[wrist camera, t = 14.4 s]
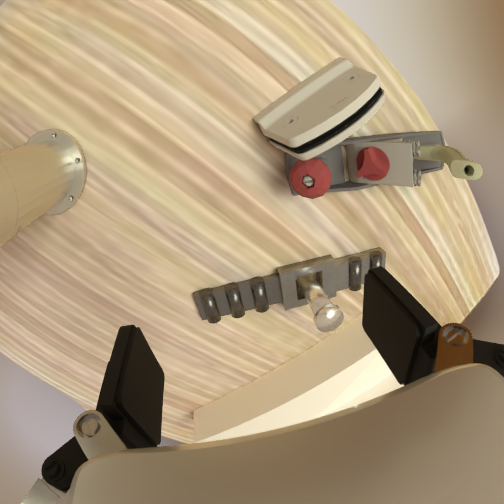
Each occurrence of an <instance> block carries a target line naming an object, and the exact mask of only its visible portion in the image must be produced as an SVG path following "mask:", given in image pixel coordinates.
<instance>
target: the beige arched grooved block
mask: <svg viewBox="0 0 504 504" xmlns="http://www.w3.org/2000/svg"><path fill="white" fill-rule="evenodd" d="M380 86H381V82H380V80H379V79H378V77H377V76H376V75H375V74H373V73H371V72H368V71H366V70H363V69H361V68H358V67H356V66H354V65H353V64H352V63H351V62H350V61H349V60H347V59H345V58H340V57H339V58H338V59H336V60H334V61H333V62H331V63H330V64H328V65H327V66H325V67H324V68H322V69H320V70H319V71H317V72H316V73H314V74H313V75H311V76H310V77H308V78H307V79H306V80H304V81H303V82H301V83H300V84H298V85H297V86H295V87H294V88H293V89H291V90H290V91H288V92H287V93H286V94H284V95H283V96H281V97H280V98H279V99H277V100H276V101H275V102H273V103H272V104H271V105H269V106H268V107H267V108H265V109H264V110H263V111H261V112H260V113H259V114H257V115H256V116H255V117H254V118H253V119H254V121H255V122H256V123H258V124H259V126H260V128H261V130H262V132H263V134H264V135H265V136H267V137H269V138H270V140H271V141H269V142H270V143H271V144H272V145H273V146H275V147H276V148H278V149H280V150H282V151H284V152H286V153H288V154H290V155H292V156H294V157H296V158H298V159H300V160H302V161H305V160H308V159H310V158H313V157H315V156H317V155H319V154H321V153H323V152H325V151H326V150H328V149H330V148H332V147H333V146H335V145H337V144H338V143H340V142H342V141H343V140H345V139H346V138H347V137H349V136H350V135H352V134H353V133H355V132H356V131H357V130H358V129H360V128H361V127H362V126H363V125H364V124H365V123H367V122H368V121H369V120H370V119H371V118H372V117H373V116H374V115H375V114H376V112H377V111H378V110H379V109H380V107H381V106H382V105H383V103H384V102H385V92H384V90H383V89H381V88H380Z"/></svg>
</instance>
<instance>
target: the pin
mask: <svg viewBox="0 0 504 504" xmlns="http://www.w3.org/2000/svg"><path fill="white" fill-rule="evenodd" d="M297 283H298V285H299V287H300V289H301V291H302V293H303V294H304V296H305V298H306V300H307V302H308V304H309V306H310V308H311V309H312V311H313V313H314V315H315V316H314V323H315V325H316V327H317V329H318V330H320V331H322V332H329V331H332V330H334V329H336V328H337V327H338V326H339V325H340V324H341V323H342V321H343V318H344V315H343V312H342V311H341V309H340V308H339V307H338V306H337V305H334V304H332V302H331V301H330V299H329V297H328V296H327V294H326V293H325V291H324V290H323V288H322V287H321V285H320V284H319V282H318V281H317V279H316V278H315V276H314V274H313V273H312V274H308V275H304V276H300V277H298V279H297Z"/></svg>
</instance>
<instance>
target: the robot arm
mask: <svg viewBox="0 0 504 504" xmlns="http://www.w3.org/2000/svg"><path fill="white" fill-rule="evenodd" d="M56 134H57V136H56ZM79 158H80V161H79ZM85 181H86V162H85V157H84V154H83V152H82V149H81V147H80V146H79V144H78V142H77V141H76V140H75V139H74V138H73V137H72V136H71V135H69V134H68V133H66V132H64V131H61V130H55V129H51V130H45V131H41V132H39V133H37V134H35V135H34V136H33V137H32V138H30V139H29V140H28V142H27V143H26V144H25V146H21V147H17V148H14V149H10V150H6V151H3V152H0V247H1V246H2V245H3V244H5V243H6V242H7V241H8V240H10V239H11V238H12V237H13V236H15V235H16V234H17V233H18V232H20V231H21V230H22V229H24V228H25V227H26V226H28V225H29V224H30V223H32V222H33V221H34V220H36V219H37V218H38V217H40V216H41V215H42V214H46V215H56V214H60V213H62V212H64V211H66V210H67V209H69V208H70V207H71V206H72V205H73V204H74V203H75V202H76V201H77V200H78V198H79V197H80V195H81V193H82V191H83V189H84V185H85ZM72 196H73V197H74V198H73V197H72ZM362 326H363V329H364V331H365V333H366V334H367V336H368V337H369V339H370V340H371V342H372V343H373V345H374V346H375V348H376V349H377V351H378V352H379V354H380V355H381V357H382V358H383V360H384V361H385V363H386V364H387V366H388V367H389V369H390V370H391V372H392V374H393V375H394V377H395V378H396V380H397V381H398V383H399V384H400V385H402V384H403V385H404V386H403V387H401V388H398V389H396V390H393V391H391V392H389V393H386V394H384V395H381V396H379V397H376V398H374V399H371V400H369V401H366V402H363V403H361V404H358V405H355V406H352V407H350V408H347V409H344V410H341V411H338V412H335V413H332V414H329V415H325V416H322V417H319V418H316V419H312V420H309V421H305V422H302V423H298V424H294V425H290V426H287V427H283V428H278V429H274V430H270V431H265V432H261V433H256V434H251V435H246V436H240V437H235V438H229V439H223V440H216V441H209V442H202V443H193V444H184V445H174V446H163V447H157V445H158V444H160V442H161V423H162V406H163V391H164V372H163V370H162V368H161V366H160V365H159V363H158V361H157V359H156V358H155V356H154V354H153V352H152V350H151V348H150V347H149V345H148V343H147V341H146V339H145V337H144V335H143V333H142V331H141V330H140V328H139V327H137V328H136V327H135V326H134V325H128V326H122V327H120V329H119V331H118V335H117V338H116V341H115V344H114V348H113V351H112V355H111V358H110V361H109V362H108V365H107V369H106V372H105V376H104V380H103V383H102V387H101V391H100V395H99V399H98V403H97V407H96V410H89V411H85V412H84V413H82V414H81V415H79V416H78V417H77V419H76V420H75V422H74V426H73V432H74V435H75V436H74V437H73V438H72V439H70V440H69V441H68V442H67V443H65V444H64V445H63V446H62V447H60V448H59V449H58V450H57V451H56V452H54V453H53V454H52V455H50V456H49V457H48V458H47V459H46V460H45V461H44V463H43V465H42V476H43V478H42V480H41V479H39V478H38V480H37V481H36V482H35V484H34V485H33V487H32V488H31V490H30V491H29V492H28V494H27V495H26V497H25V498H24V500H23V501H22V503H21V504H504V345H503V344H497V343H491V342H485V341H480V340H474V339H473V337H472V333H471V332H470V330H469V329H468V328H467V327H466V326H464V325H462V324H459V323H448V324H446V325H444V326H442V327H441V325H440V324H439V323H438V322H437V321H436V320H435V319H434V318H433V317H432V316H431V315H430V314H429V313H428V311H427V310H426V309H425V308H424V307H423V306H422V305H421V304H420V303H419V302H418V301H417V300H416V299H415V298H414V297H413V296H412V295H411V294H410V293H409V292H408V291H407V290H406V289H405V288H404V287H403V286H402V285H401V284H400V283H399V282H398V281H397V280H396V279H395V278H394V277H393V276H392V275H391V274H390V273H389V272H388V271H387V270H386V269H384V268H383V267H382V266H379V267H376V268H372V269H369V270H368V273H367V274H365V277H364V300H363V316H362Z"/></svg>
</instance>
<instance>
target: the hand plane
mask: <svg viewBox="0 0 504 504" xmlns="http://www.w3.org/2000/svg"><path fill="white" fill-rule="evenodd" d="M341 145H346V152H347V161H348V170H349V180H350V181H349V182H345V177H344V168H343V159H342V151H341ZM285 154H286V174H287V177H288V180H289V184H290V187H291V190H292V193H293V195H294V196H295V195H301V196H302V197H307V198H311V199H314V198H317V197H320V196H323V195H324V194H325V193H326V192H338V191H351V190H360V189H364V188H368V187H372V186H375V185H379V184H383V185H397V186H409V187H413V185H414V186H416V185H418V186H420V185H421V174H424V173H429V172H433V171H437V170H442V169H443V166H444V163H446V164H447V165H448V167H449V169H450V171H451V173H452V175H453V176H454V177H456V178H462V179H469V180H476V179H478V178H480V177H481V176H482V173H483V171H482V167H481V166H480V165H479V164H478V163H476V162H473V161H471V160H469V159H468V158H466V157H465V156H464V155H463V154H462V153H461V152H460V151H459V150H457V149H455V148H451V147H448V146H445V142H444V139H443V135H442V132H441V131H426V132H408V133H394V134H383V135H372V136H363V137H354V138H346V139H345V140H343V141H342V142H340V143H338V144H337V145H335V146H333V147H332V148H330V149H328V150H326V151H325V152H323V153H321V154H319V155H317V156H315V157H313V158H310V159H308V160H305V161H302V160H300V159H298V158H296V157H294V156H292V155H290V154H288V153H286V152H285Z"/></svg>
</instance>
